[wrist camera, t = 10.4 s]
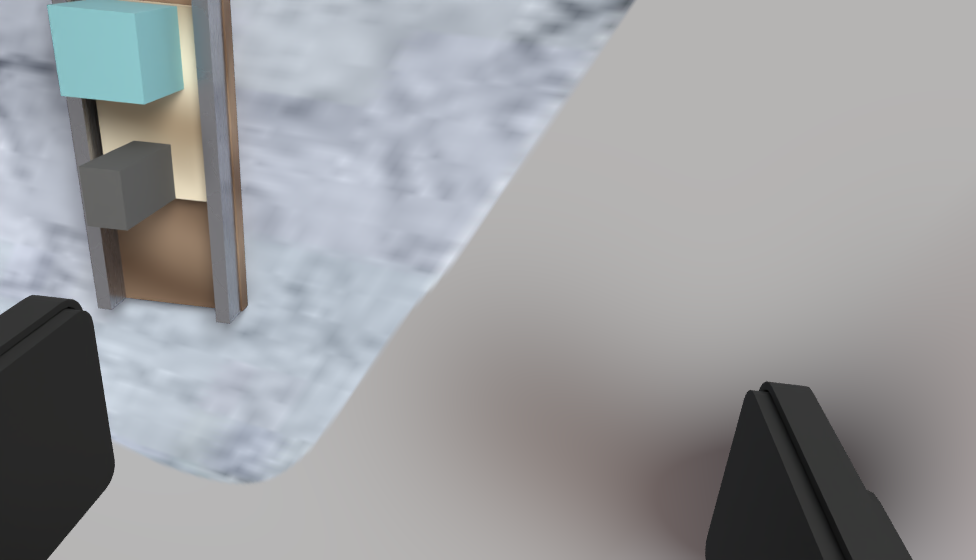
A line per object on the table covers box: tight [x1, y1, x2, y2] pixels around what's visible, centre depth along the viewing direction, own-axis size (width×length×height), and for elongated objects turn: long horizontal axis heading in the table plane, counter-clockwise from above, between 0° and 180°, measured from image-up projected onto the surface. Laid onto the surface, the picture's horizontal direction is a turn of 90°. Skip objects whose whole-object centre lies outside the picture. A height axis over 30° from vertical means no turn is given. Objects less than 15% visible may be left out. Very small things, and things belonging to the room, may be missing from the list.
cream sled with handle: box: [79, 0, 207, 231], centre depth 37 cm, size 10×6×6 cm, turn 175°
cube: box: [47, 0, 184, 105], centre depth 36 cm, size 4×4×4 cm
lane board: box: [52, 0, 248, 324], centre depth 41 cm, size 18×8×2 cm, turn 175°
